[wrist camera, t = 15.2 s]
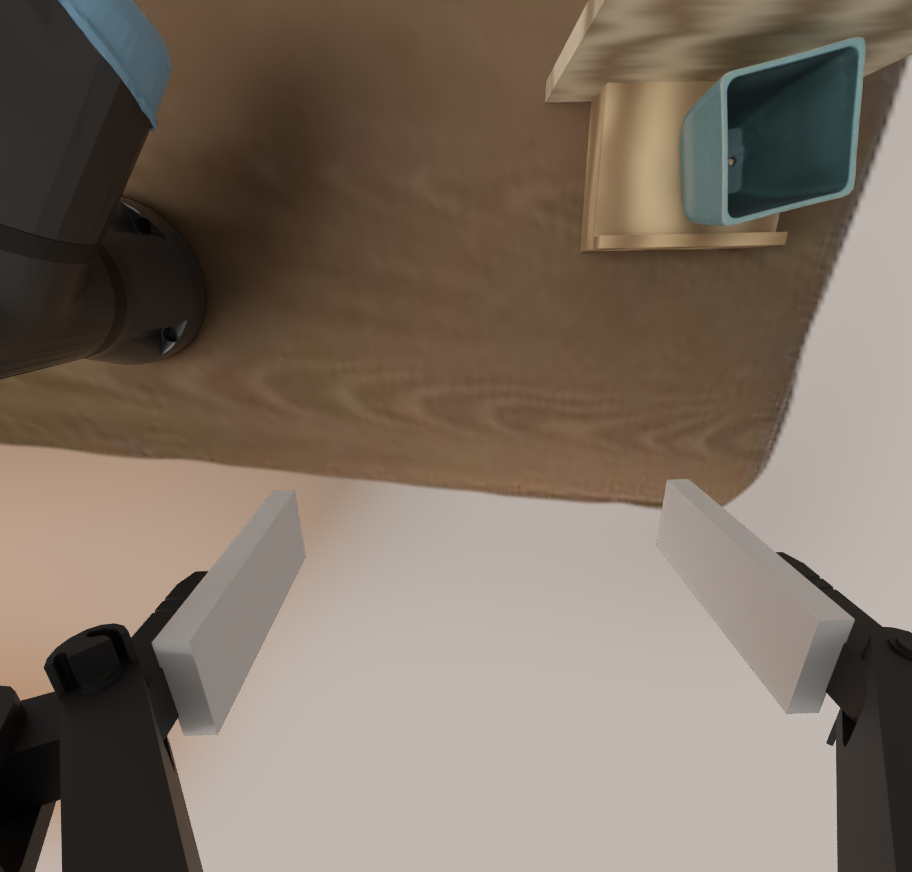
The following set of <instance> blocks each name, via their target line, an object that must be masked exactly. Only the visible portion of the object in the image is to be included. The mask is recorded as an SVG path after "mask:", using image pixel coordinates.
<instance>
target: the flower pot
mask: <svg viewBox="0 0 912 872" xmlns="http://www.w3.org/2000/svg"><path fill="white" fill-rule="evenodd" d="M865 55H866V46H865V39H864V38H863V37H852V38H848V39H845V40H842V41H839V42H835V43H832V44H828V45H825V46H822V47H818V48H815V49H812V50H808V51H804V52H801V53H798V54H794V55H790V56H786V57H783V58H778V59H775V60H771V61H767V62H763V63H760V64H756V65H752V66H749V67H744V68H741V69H736V70H733V71H730V72H728V73H726V74H724V75H723V76H722V77H721V78H720V79H719V80H718V81H717V82H716V83H715V84H714V85H713V86H712V87H711V88H710V89H709V90H708V91H707V92H706V93H705V94H704V95H703V96H702V97H701V98H700V99H699V100H698V101H697V102H696V103H695V104H694V105H693V106H692V107H691V108H690V110H689V111H688V113H687V114H686V116H685V118H684V121H683V124H682V127H681V132H680V168H681V194H682V206H683V211H684V214H685V216H686V218H687V219H688V220H689V221H691V222H693V223H695V224H701V225H715V226H732V225H737V224H740V223H743V222H747V221H751V220H754V219H758V218H762V217H765V216H769V215H773V214H777V213H780V212H785V211H788V210H792V209H796V208H800V207H804V206H808V205H812V204H816V203H820V202H824V201H828V200H833V199H837V198H841V197H844V196H846V195H848V194H850V193H851V192H852V190H853V188H854V182H855V172H856V158H857V146H858V135H859V122H860V112H861V97H862V90H863V75H864V67H865ZM730 158H732V159H733V160H734V161H733V164H732V165H730V164H729V162H728V161H729V159H730Z"/></svg>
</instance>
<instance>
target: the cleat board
mask: <svg viewBox="0 0 912 872" xmlns="http://www.w3.org/2000/svg"><path fill="white" fill-rule="evenodd" d="M852 37H863V38H864V39H865V46H866V55H865V67H864V75H863V77H864V76H867V75H869V74H871V73H873V72H875V71H877V70H879V69H881V68H884V67H886V66H888V65H890V64H892V63H894V62H896V61H898V60H900V59H903V58H905V57H907V56H909V55H911V54H912V0H588V2H587V4H586V6H585V8H584V10H583V12H582V14H581V16H580V18H579V20H578V21H577V23H576V25H575V27H574V29H573V31H572V33H571V35H570V37H569V39H568V41H567V43H566V44H565V46H564V48H563V50H562V52H561V54H560V56H559V58H558V60H557V62H556V64H555V66H554V67H553V69H552V71H551V73H550V75H549V77H548V79H547V81H546V98H545V103H549V102H591V110H590V123H589V136H588V150H587V163H586V176H585V190H584V203H583V216H582V230H581V243H580V252H588V251H638V250H687V249H737V248H753V247H765V246H776V245H785V243H786V239H787V234H788V232H776V228H777V224H778V219H779V214H780V213H777V214H773V215H769V216H765V217H762V218H758V219H754V220H751V221H747V222H743V223H740V224H737V225H732V226H715V225H701V224H695V223H693V222H691V221H689V220H688V219H687V218H686V216H685V214H684V211H683V206H682V194H681V168H680V132H681V127H682V124H683V121H684V118H685V116H686V114H687V113H688V111H689V110H690V108H691V107H692V106H693V105H694V104H695V103H696V102H697V101H698V100H699V99H700V98H701V97H702V96H703V95H704V94H705V93H706V92H707V91H708V90H709V89H710V88H711V87H712V86H713V85H714V84H715V83H716V82H717V81H718V80H719V79H720V78H721V77H722V76H723V75H724V74H726V73H728V72H730V71H733V70H736V69H741V68H744V67H749V66H752V65H756V64H760V63H763V62H767V61H771V60H775V59H778V58H783V57H786V56H790V55H794V54H798V53H801V52H804V51H808V50H812V49H815V48H818V47H822V46H825V45H828V44H832V43H835V42H839V41H842V40H845V39H848V38H852ZM733 161H734V160H733V159H732V158H730V159H729V161H728V162H729V164H730V165H732V164H733Z"/></svg>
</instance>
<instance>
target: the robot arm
mask: <svg viewBox="0 0 912 872" xmlns="http://www.w3.org/2000/svg"><path fill="white" fill-rule="evenodd" d="M170 74H171V61H170V57H169V53H168V50H167V47H166V45H165V43H164V41H163V39H162V37H161V36H160V34H159V32H158V31H157V29H156V28H155V26H154V25H153V24H152V22H151V21H150V20H149V18H148V17H147V16H146V15H145V14H144V12H143V11H142V10H141V9H140V8H139V7H138V5H137V4H136V3H135V2H134V1H133V0H0V379H4V378H8V377H12V376H16V375H20V374H24V373H28V372H32V371H36V370H40V369H44V368H47V367H51V366H55V365H59V364H63V363H67V362H71V361H75V360H79V359H90V360H96V361H103V362H109V363H115V364H124V365H136V364H145V363H150V362H154V361H157V360H160V359H164V358H167V357H170V356H172V355H174V354H176V353H178V352H179V351H181V350H182V349H183V348H185V347H186V346H187V345H188V344H189V343H190V342H191V341H192V340H193V338H194V337H195V335H196V334H197V332H198V330H199V328H200V326H201V324H202V321H203V317H204V313H205V305H206V293H205V285H204V280H203V276H202V273H201V270H200V267H199V264H198V262H197V260H196V258H195V256H194V254H193V252H192V250H191V249H190V247H189V246H188V244H187V243H186V241H185V240H184V238H183V237H182V236H181V235H180V234H179V232H178V231H177V230H176V229H175V228H174V227H173V226H172V225H171V224H170V223H169V222H168V221H166V220H165V219H164V218H163V217H162V216H160V215H159V214H158V213H156V212H155V211H153V210H151V209H150V208H148V207H146V206H144V205H142V204H140V203H138V202H136V201H133V200H130V199H127V198H124V197H121V196H122V194H123V192H124V189H125V187H126V185H127V182H128V180H129V178H130V175H131V173H132V171H133V168H134V166H135V164H136V161H137V159H138V156H139V154H140V152H141V149H142V147H143V145H144V142H145V140H146V138H147V135H148V133H149V131H150V130H151V131H155V129H156V127H157V118H156V114H157V112H158V109H159V106H160V103H161V101H162V98H163V95H164V92H165V90H166V87H167V84H168V81H169V78H170ZM656 546H657V548H658V549H659V550H660V552H661V553H662V554H663V555H664V557H665V558H666V559H667V560H668V562H669V563H670V564H671V566H672V567H673V568H674V569H675V571H676V572H677V573H678V575H679V576H680V577H681V579H682V580H683V581H684V582H685V584H686V585H687V586H688V588H689V589H690V590H691V591H692V593H693V594H694V595H695V597H696V598H697V599H698V600H699V602H700V603H701V604H702V606H703V607H704V608H705V609H706V611H707V612H708V613H709V615H710V616H711V617H712V618H713V620H714V621H715V622H716V624H717V625H718V626H719V628H720V629H721V630H722V631H723V633H724V634H725V635H726V636H727V638H728V639H729V640H730V642H731V643H732V644H733V645H734V647H735V648H736V649H737V650H738V652H739V653H740V655H741V656H742V657H743V658H744V660H745V661H746V662H747V663H748V665H749V666H750V667H751V669H752V670H753V671H754V672H755V674H756V675H757V676H758V678H759V679H760V680H761V682H762V683H763V684H764V685H765V687H766V688H767V689H768V691H769V692H770V693H771V694H772V696H773V697H774V698H775V700H776V701H777V702H778V704H779V705H780V706H781V707H782V709H783V710H784V711H785V713H786V714H792V713H819V711H820V708H821V706H822V703H823V701H824V698H825V696H826V693H828V695H829V696H830V697H831V698H832V699H833V700H834V701H835V702H836V703H837V705H839V707H840V710H839V713H838V715H837V718H836V720H835V723H834V725H833V728H832V730H831V732H830V735H829V737H828V740H827V742H826V743H827V744H829V745H831V746H833V744H834V742H835V740H836V766H837V767H836V773H837V845H838V846H837V848H838V849H837V851H838V853H837V854H838V872H912V633H911V632H908V631H904V630H900V629H897V628H891V627H882V626H881V625H879V624H878V623H877V622H876V621H874V620H873V619H872V618H871V617H870V616H868V615H867V614H866V613H865V612H863V611H862V610H861V609H860V608H858V607H857V606H856V605H855V604H853V603H852V602H851V601H850V600H848V599H847V598H846V597H845V596H843V595H842V594H841V593H840V592H839V591H837V590H834V589H833V587H832V586H831V585H830V584H829V583H827V582H826V581H825V580H824V579H820V577H819V575H817V574H816V573H815V572H814V571H812V570H811V569H810V568H809V567H807V566H806V565H805V564H804V563H802V562H800V561H798V560H796V559H794V558H792V557H790V556H789V555H787V554H785V553H783V552H774V551H773V550H772V549H771V548H770V547H768V546H767V545H766V544H765V543H764V542H762V541H761V540H760V539H759V538H758V537H756V536H755V535H754V534H753V533H752V532H750V531H749V530H748V529H747V528H745V526H744V525H742V524H741V523H740V522H739V521H738V520H736V519H735V518H734V517H733V516H732V515H730V514H729V513H728V512H727V511H726V510H725V509H723V508H722V507H721V506H720V505H719V504H717V503H716V502H715V501H714V500H713V499H711V498H710V497H709V496H708V495H707V494H706V493H704V492H703V491H702V490H701V489H700V488H698V487H697V486H696V485H695V484H694V483H692V482H691V481H690V480H689V479H676V480H667V483H666V489H665V495H664V501H663V507H662V513H661V519H660V525H659V531H658V536H657V543H656ZM305 557H306V554H305V548H304V542H303V537H302V530H301V525H300V519H299V513H298V507H297V501H296V495H295V491H294V490H290V491H272V492H271V494H270V495H269V496H268V498H267V499H266V500H265V501H264V503H263V504H262V505H261V506H260V508H259V509H258V510H257V511H256V513H255V514H254V515H253V516H252V518H251V519H250V520H249V521H248V523H247V524H246V525H245V527H244V528H243V529H242V530H241V531H240V533H239V534H238V535H237V536H236V538H235V539H234V540H233V542H232V543H231V544H230V545H229V547H228V548H227V549H226V550H225V551H224V553H223V554H222V555H221V557H220V558H219V559H218V560H217V561H216V563H215V564H214V565H213V567H212V568H211V569H210V570H209V571H201V572H194V573H193V574H191V575H190V576H189V577H187V578H186V579H184V580H183V581H181V582H180V583H179V584H177V585H176V587H175V588H174V589H173V590H172V591H171V592H170V594H169V595H168V596H167V597H166V599H165V601H163V602H162V603H161V604H160V605H159V606H158V607H157V609H156V610H155V613H152V614H151V616H150V617H149V618H148V619H147V620H146V621H145V623H144V624H143V625H142V626H141V627H140V628H139V629H138V631H137V632H136V633H135V634H134V635H133V636H132V637H130V635H129V632H128V630H127V629H126V628H125V627H124V626H123V625H119V624H105V625H100V626H96V627H93V628H90V629H87V630H85V631H83V632H81V633H79V634H77V635H75V636H73V637H71V638H69V639H68V640H67V641H65V642H64V643H62V644H61V645H60V646H58V647H57V648H56V649H55V650H54V651H53V652H52V653H51V655H50V656H49V657H48V658H47V660H46V663H45V666H44V669H45V671H46V673H47V675H48V677H49V680H50V682H51V684H52V686H53V688H54V690H55V692H52V693H48V694H44V695H41V696H37V697H34V698H30V699H26V700H22V701H20V699H19V697H18V696H17V694H16V692H15V691H14V690H13V689H12V688H11V687H9V686H0V872H35V869H36V866H37V863H38V860H39V856H40V853H41V850H42V846H43V843H44V839H45V836H46V833H47V829H48V826H49V823H50V820H51V817H52V813H53V810H54V806H55V803H56V801H57V800H60V799H61V832H62V833H61V834H62V835H61V836H62V872H203V869H202V865H201V862H200V858H199V854H198V850H197V846H196V842H195V839H194V835H193V831H192V827H191V823H190V819H189V816H188V811H187V808H186V804H185V800H184V796H183V792H182V789H181V784H180V781H179V777H178V773H177V769H176V766H175V762H174V758H173V754H172V750H171V746H170V743H169V740H168V738H167V735H168V733H169V731H170V730H171V728H172V726H173V725H174V723H175V721H176V720H177V718H178V720H179V723H180V726H181V729H182V732H183V735H184V736H191V735H218V733H219V731H220V729H221V727H222V725H223V723H224V721H225V719H226V717H227V715H228V713H229V711H230V709H231V707H232V705H233V703H234V701H235V699H236V697H237V695H238V693H239V691H240V689H241V687H242V684H243V683H244V681H245V678H246V677H247V674H248V672H249V670H250V668H251V666H252V664H253V662H254V660H255V658H256V656H257V654H258V652H259V650H260V648H261V646H262V644H263V642H264V640H265V638H266V636H267V634H268V632H269V630H270V628H271V626H272V624H273V622H274V620H275V618H276V616H277V614H278V612H279V610H280V608H281V606H282V604H283V602H284V600H285V598H286V595H287V594H288V591H289V589H290V588H291V586H292V583H293V581H294V579H295V577H296V575H297V573H298V571H299V569H300V567H301V565H302V563H303V561H304V559H305Z"/></svg>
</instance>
